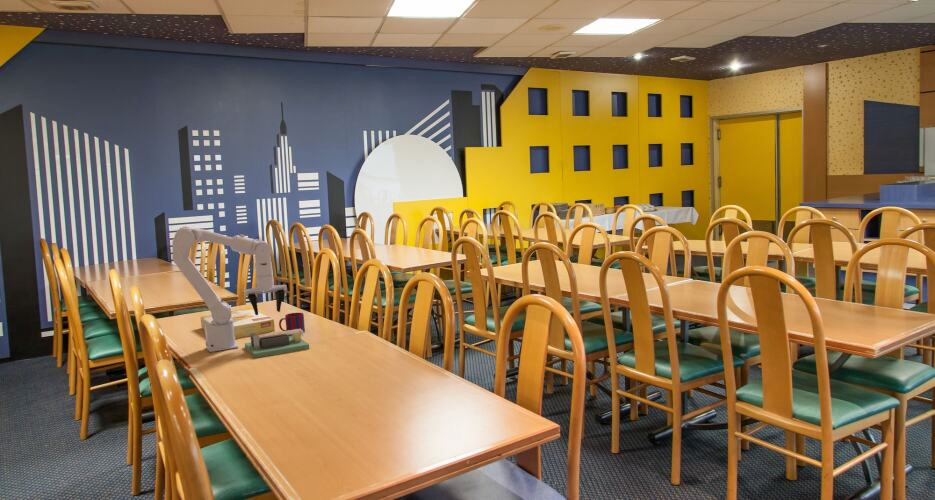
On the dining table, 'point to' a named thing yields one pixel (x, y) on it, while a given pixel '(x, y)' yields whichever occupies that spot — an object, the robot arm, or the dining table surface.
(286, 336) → the dark and beige blocks
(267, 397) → the dining table surface
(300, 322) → the mug
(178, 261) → the robot arm
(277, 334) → the beige long bar
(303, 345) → the circuit board
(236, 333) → the cereal box
